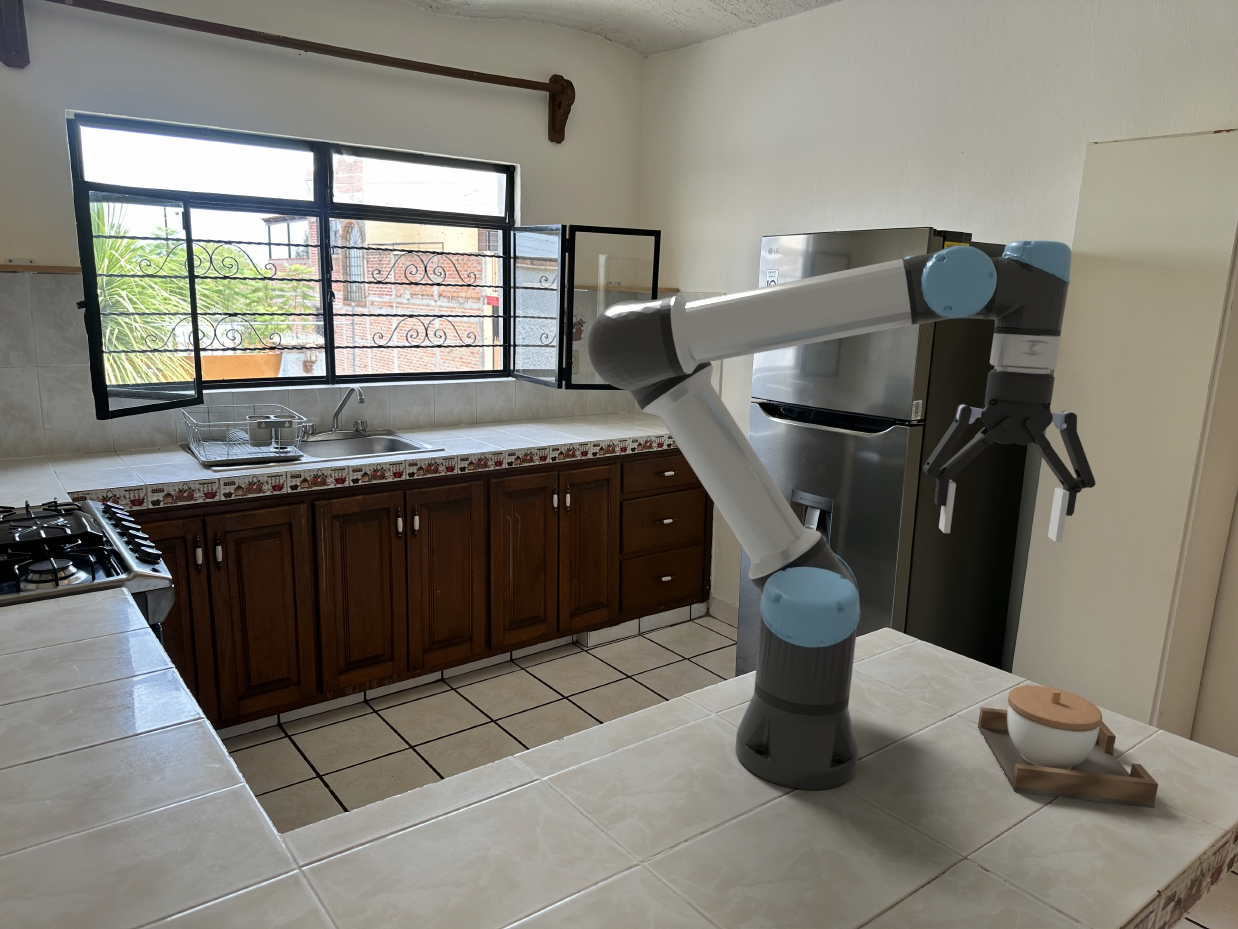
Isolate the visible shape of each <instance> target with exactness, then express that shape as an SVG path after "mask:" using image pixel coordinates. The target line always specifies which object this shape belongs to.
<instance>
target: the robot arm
mask: <svg viewBox="0 0 1238 929" xmlns="http://www.w3.org/2000/svg"><path fill="white" fill-rule="evenodd" d="M1071 261H1072V249H1071V248H1070V246H1069V245H1068V244H1066V243H1064V242H1060V241H1054V240H1053V241H1052V240H1018V241H1017V240H1016V241H1010V242H1009V243H1007V244H1006V245H1005V247H1004V252H1002V255H1001V256H996V257H990V256H988V254H986V253H985V252H984V251H982V250H981V249H979V248H977V247H974V246H969V245H965V244H958V245H952V246H948V247H943V249H941V250H940V251H939V250H938V251H935V252H934V251H933V252H930V253H925V254H920V255H907V256H906V257H904V258H903V259H902V258H899V259H895V260H890V261H885V262H879V263H875V264H870V265H865V266H859V267H855V268H851V269H846V270H840V271H839V270H838V271H836V272H830V273H825V274H820V275H816V276H815V275H814V276H810V277H805V278H801V279H796V280H792V281H785V282H780V283H776V284H771V285H766V286H761V287H755V288H751V289H746V290H741V291H737V292H736V291H735V292H732V293H731V292H730V293H726V294H722V295H717V296H712V297H706V298H702V299H698V300H692V301H686V300H685V299H683V298H682V297H681V296H678V295H675V296H670V297H665V298H659V299H658V298H657V299H651V300H636V299H634V300H633V299H632V300H622V301H619V302H616V303H613V304H611V305H610V306H608V307H607V308H605V309H604V310H603V311H602V312H600V314H599V315H598V316H597V318H595V320H594V321H593V323H592V326H591V328H590V330H589V332H588V333H589V334H588V336H587V354H588V358H589V360H590V364H591V365H592V368H593V369H594V371H595V372H596V373H597V375H598V376H600V378H601V379H602V380H603V381H605V382H606V383H607V384H610V385H611V386H612V387H615V388H617V389H620V390H626V391H629V392H630V394H631V395H632V397H633V399H634V400H635V402H636V403H637V404H638V406H639V407H640V409H641V410H642V412H643V413H645V414H649V415H653V416H656V417H658V418H659V419H660V420H661V423H662V424H663V425H664V427H665V428H666V429H667V431H668V432H669V434H670V436H671V438H672V439H673V441H674V443H675V444H676V445H677V447H678V448H679V450H680V451H681V453H682V455H683V457H685V460H686V461H687V462H688V464H689V466H690V467H691V468H692V470H693V472H694V474H695V475H696V476H697V477H698V479H699V481H700V483H701V484H702V486H703V487H704V490H706V492H707V494H708V495H709V497H710V498H711V500H712V501H713V503H714V504H715V506H716V508H717V509H718V511H719V512H720V514H721V515H722V517H723V518H724V520H725V522H726V523H727V524H728V527H729V528H730V529H731V532H733V535H735V537H736V538H737V540H738V542H739V543H740V545H741V546H742V548H743V549H744V551H745V553H746V554H747V556H748V557H749V559H750V567H749V571H748V577H749V578H750V580H751V582H752V584H753V585H754V586H755V588H756V589H757V591H758V593H759V594H760V602H759V609H760V621H759V623H760V624H759V635H758V645H757V646H758V647H757V657H756V668H755V679H754V680H755V681H754V690H753V695H752V697H751V699H750V702H749V704H748V706H747V707H746V710H745V712H744V715H743V717H742V719H741V721H740V723H739V725H738V728H737V732H736V739H735V747H734V748H735V749H734V750H735V755H736V756H737V759H738V760H739V762H740V763H741V764H742V765H743V766H744V767H745V769H747V770H748V771H749V772H751V773H753V774H754V775H755V776H758V777H760V778H762V779H764V780H765V781H768V782H771V783H774V784H777V785H780V786H782V787H790V788H793V789H799V790H802V789H803V790H824V789H825V790H826V789H827V790H828V789H832V788H835V787H838V786H841V785H844V784H846V783H848V782H849V781H851V779H852V778H853V777H854V776H855V774H856V771H857V766H858V757H859V749H858V745H857V744H858V743H857V741H856V740H857V739H856V736H855V732H854V728H853V723H852V718H851V714H850V709H849V704H850V694H851V687H852V686H851V685H852V678H853V669H854V668H853V667H854V658H855V648H856V640H857V633H858V632H857V630H858V624H859V622H860V618H861V606H860V593H859V587H858V582H857V579H856V577H855V574H854V573H853V571H852V569H851V568H850V566H849V565H848V564H847V563H846V561H845V560H844V559H843V558H842V557H840V556H839V555H838V554H836V553H835V552H834V551H833V550H832V549H831V547H830V545H829V544H828V543H827V540H825V538H824V537H823V535H822V533H821V532H820V531H818V530H814V529H809V528H807V527H804V526H803V524H802V523H801V521H800V519H799V518H798V516H797V514H796V513H795V512H794V510H793V508H792V507H791V506H790V504H789V502H788V501H787V499H786V498H785V496H784V495H783V493H782V491H781V490H780V488H779V487H778V485H777V484H776V482H775V481H774V479H773V478H772V476H771V474H770V473H769V472H768V470H767V468H766V467H765V465H764V463H763V462H762V461H761V459H760V457H759V456H758V454H757V453H756V451H755V449H754V448H753V447H752V445H751V444H750V441H749V440H748V438H747V437H746V436H745V434H744V432H743V431H742V430H741V427H740V426H739V424H738V423H737V421H736V420H735V419H734V417H733V415H732V414H731V412H730V411H729V409H728V408H727V406H726V404H725V403H724V402H723V400H722V398H721V397H720V395H719V393H718V392H717V390H716V389H715V388H714V386H713V384H712V381H711V380H712V376H713V371H714V366H713V364H712V363H711V362H717V361H721V360H727V359H732V358H739V357H743V356H750V355H753V354H754V355H755V354H760V353H766V352H771V351H777V350H780V349H786V348H787V349H788V348H791V347H792V348H793V347H798V346H799V347H800V346H803V345H808V344H814V343H820V342H825V341H831V340H836V339H842V338H846V337H847V338H849V337H854V336H859V335H864V334H869V333H874V332H875V333H876V332H879V331H886V330H891V329H896V328H902V327H908V326H912V325H913V326H914V325H922V324H926V323H933V322H937V321H943V320H951V319H952V320H953V319H954V320H955V319H981V320H994V330H993V332H994V333H993V337H992V344H991V350H990V359H989V364H990V365H991V366H994V368H993V369H991V370H990V371H988V374H987V380H986V381H987V382H986V388H985V396H984V397H985V398H984V402H983V405H982V407H981V408H978V407H972V406H969V405H965V404H964V403H961V404H959V405H957V408H956V411H955V416H954V419H953V421H952V423H951V425H949V427H948V429H947V430H946V432H945V433H944V435H943V436H942V437H941V439H940V441H939V443H938V444H937V445H936V447H935V448H934V450H933V451H932V453H931V454H930V456H929V457H928V459H926V461H925V463H924V465H923V466H922V470H923V472H924V473H925V474H927V476H929V477H932V478H935V481H936V482H935V483H936V485H935V491H934V492H935V493H934V502H935V505H937V506H938V507H941V508H940V517H939V522H938V523H939V524H938V528H939V530H941V531H942V533H943V534H950V533H951V527H952V526H951V525H952V519H953V511H954V504H955V495H956V487H957V483H956V482H954V480H952V479H953V478H954V477H955V476H956V475H958V474H959V473H960V472H961V471H962V470H964V468H965V467H967V466H968V465H969V463H971V462H972V461H973V460H974V459H975V458H976V457H977V456H978V455H979V454H980V453H982V452H983V451H984V450H985V449H986V448H987V447H989V446H990V447H991V445H992V444H994V442H996V443H998V444H1000V445H1011V444H1017V445H1020V446H1023V447H1024V446H1026V447H1027V446H1028V445H1032V446H1033V447H1034V448H1035V450H1036V451H1037V452H1038V453H1039V455H1040V456H1041V458H1042V459H1043V460H1044V462H1045V463H1046V465H1047V467H1049V469H1050V471H1051V472H1052V473H1053V474H1054V476H1055V478H1057V480H1058V481H1059V483H1060V484H1061V486H1062V487H1054V493H1053V500H1052V506H1051V514H1050V519H1049V526H1048V532H1047V538H1049V539H1051V540H1052V541H1053V542H1054V543H1063V538H1064V537H1063V535H1064V530H1065V524H1066V519H1067V518H1066V517H1067V516H1068V517H1072V516H1073V514H1074V513H1075V508H1076V501H1077V496H1078V495H1077V494H1079V493H1081V492H1082V490H1083V489H1087V488H1089V489H1092V488H1094V487H1095V485H1096V479H1095V476H1094V474H1093V471H1092V468H1091V465H1090V463H1089V461H1088V457H1087V455H1086V452H1085V450H1084V446H1083V444H1082V442H1081V439H1080V436H1079V433H1078V431H1077V430H1078V415H1077V414H1076V413H1075V412H1071V411H1069V410H1063V411H1061V412H1052V410H1051V404H1052V400H1053V392H1054V386H1055V380H1056V379H1055V378H1056V377H1055V376H1054V374H1053V373H1051V370H1055V369H1056V368H1057V364H1058V363H1057V362H1058V356H1059V350H1060V342H1061V336H1062V329H1063V328H1062V327H1063V321H1064V315H1065V308H1066V302H1067V297H1068V289H1069V285H1071V280H1070V277H1071V276H1070V275H1071V263H1072V262H1071ZM977 418H979V420H980V421H981V423H982V425H983V426H984V427H982V428H981V429H980V430H979V431H978V432H977V433H976V434H975V436H974V438H972V439H971V440H970V441H969V442H968V443H967V444H965V446H963V447H962V448H960V450H959V451H958V452H957V453H956V454H955V455H954V456H952V457H951V459H949V460H948V461H947V462H946V460H947V458H948V457H949V455H950V454H951V452H952V451H953V450H954V448H955V446H956V445H957V443H958V442H959V440H961V438H962V436H963V435H964V433H965V432H966V430H967V428H968V426H969V425H972V424H973V423H974V422H975V421H976V419H977ZM1052 423H1053V425H1054V427H1055V428H1056V429H1057V430H1059V433H1060V436H1061V439H1062V442H1063V445H1064V447H1065V450H1066V453H1067V456H1068V458H1069V461H1070V463H1071V466H1072V469H1073V471H1074V476H1075V477H1074V476H1073V474H1072V473H1071V471H1070V470H1069V469H1068V467H1067V466H1066V464H1065V463H1064V461H1062V459H1061V457H1060V456H1059V455H1058V454H1057V452H1056V450H1055V449H1054V448H1053V446H1052V445H1051V442H1050V440H1049V439H1048V438H1047V436H1046V435H1045V434H1044V432H1045V430H1046V429H1048V428H1049V426H1050V425H1051V424H1052ZM945 462H946V463H945ZM944 463H945V464H944ZM943 464H944V465H943ZM942 465H943V466H942Z"/></svg>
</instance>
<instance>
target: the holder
mask: <svg viewBox="0 0 1238 929" xmlns="http://www.w3.org/2000/svg"><path fill="white" fill-rule="evenodd" d="M1007 710H1008V709H1001V708H992V707H991V708H990V707H985V706H984V707H983V706H981V707H980V708H979V715H978V725H977V729H978V728H979V729H978V731H979V730H980V731H979V732H981V733H982V734H981V733H980V734H981V736H982V735H983V736H984V738H983V740H984V739H985V740H984V742H985V744H986V745H987V744H988V745H987V746H989V747H988V748H989V750H990V749H991V750H990V752H991V751H992V752H991V753H993V754H992V755H993V757H994V756H995V757H994V759H995V758H996V759H995V760H996V762H997V764H998V763H999V764H998V765H1000V766H999V768H1000V769H1001V768H1002V769H1001V770H1003V771H1004V773H1003V774H1004V776H1005V775H1006V776H1005V778H1006V777H1007V778H1006V780H1007V779H1008V780H1007V781H1008V783H1009V784H1011V785H1010V787H1011V786H1012V787H1011V788H1012V790H1013V791H1014V792H1015V791H1018V792H1017V793H1024V792H1026V794H1032V793H1033V795H1034V794H1035V795H1042V796H1049V795H1050V796H1049V797H1058V798H1067V799H1076V800H1085V801H1090V802H1091V801H1092V802H1099V803H1100V802H1101V803H1109V804H1117V805H1127V806H1135V807H1142V808H1152V809H1154V808H1155V804H1156V799H1157V792H1158V789H1159V784H1158V782H1157V781H1156V780H1155V779H1154V777H1153V776H1152V775H1151V774H1150V773H1149V772H1148V771H1147V770H1146V769H1145V767H1144V766H1143V765H1142V764H1141V763H1131V768H1130V771H1128V770H1127V769H1126V767H1125V766H1124V765H1123V764H1122V762H1120V760H1119V759H1118V758H1117V757H1116V755H1114V749H1115V745H1116V744H1115V743H1116V737H1117V736H1116V734H1114V733H1113V731H1112V730H1111V729H1110V728H1109V727H1108V726H1107V724H1105V722H1104V720H1102V722H1101V725H1100V728H1099V733H1098V737H1097V740H1096V743H1095V746H1094V748H1093V750H1092V752H1091V753H1090V755H1089V756H1088V757H1087V758H1086V759H1085V760H1084V761H1083V762H1081V763H1080V764H1078V765H1076V766H1073V767H1072V768H1071V769H1070V770H1066V769H1058V768H1049V767H1040V766H1034V765H1032V764H1030V763H1029V762H1027V761H1026V760H1024V759H1023V758H1022V756H1021V755H1020V752H1019V751H1018V749H1017V748H1016V747H1015V745H1014V744H1013V742H1012V740H1011V738H1010V735H1009V732H1008V726H1007ZM983 736H982V737H983ZM1003 771H1002V772H1003Z"/></svg>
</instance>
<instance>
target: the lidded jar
mask: <svg viewBox="0 0 1238 929" xmlns="http://www.w3.org/2000/svg"><path fill="white" fill-rule="evenodd" d="M1007 696H1008V697H1007V703H1008V704H1007V709H1006V710H1007V726H1008V732H1009V735H1010V738H1011V740H1012V742H1013V744H1014V745H1015V747H1016V748H1017V749H1018V751H1019V752H1020V755H1021V756H1022V758H1023V759H1024V760H1026V761H1027V762H1029V763H1030V764H1032V765H1034V766H1040V767H1049V768H1058V769H1066V770H1070V769H1071V768H1072V767H1073V766H1076V765H1078V764H1080V763H1081V762H1083V761H1084V760H1085V759H1086V758H1087V757H1088V756H1089V755H1090V753H1091V752H1092V750H1093V748H1094V746H1095V743H1096V740H1097V737H1098V733H1099V728H1100V725H1101V722H1102V721H1103V714H1102V711H1101V710H1100V708H1099V707H1098V706H1097V705H1095V704H1094V703H1093V702H1092V701H1090V700H1089V699H1086V698H1084V697H1082V696H1080V695H1078V694H1075V693H1072V692H1070V691H1067V690H1063V689H1060V688H1056V687H1050V686H1045V685H1036V684H1035V685H1034V684H1033V685H1032V684H1031V685H1028V684H1027V685H1019V686H1016V687H1014V688H1012V689H1011V690H1009V692H1008V695H1007Z"/></svg>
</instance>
